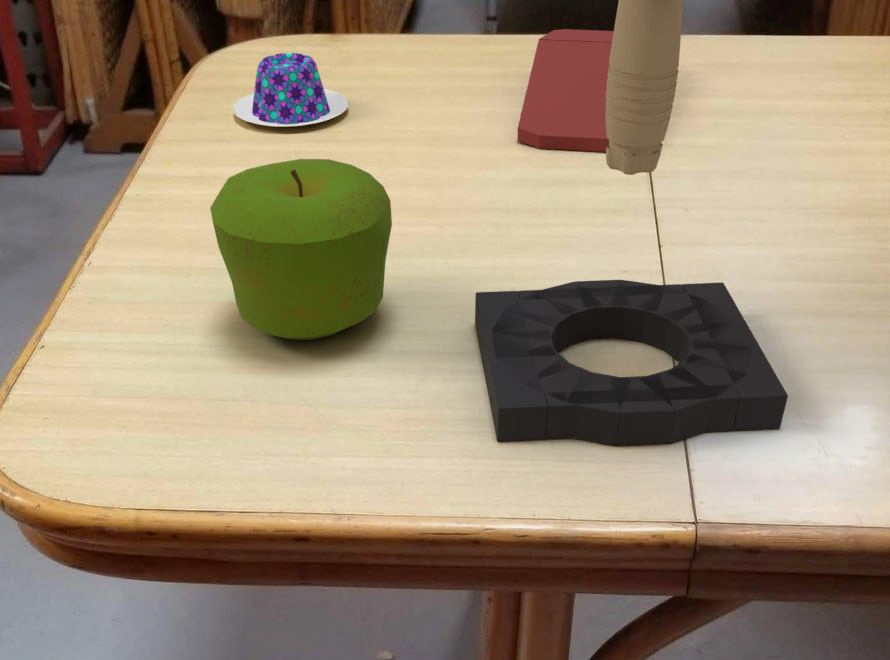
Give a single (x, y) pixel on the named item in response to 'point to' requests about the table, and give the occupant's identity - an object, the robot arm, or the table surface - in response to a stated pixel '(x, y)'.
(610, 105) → the handle
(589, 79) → the red chamfered slab
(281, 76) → the pudding
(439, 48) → the table surface
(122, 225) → the table surface
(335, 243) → the apple
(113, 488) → the table surface
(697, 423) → the black plate with hole
